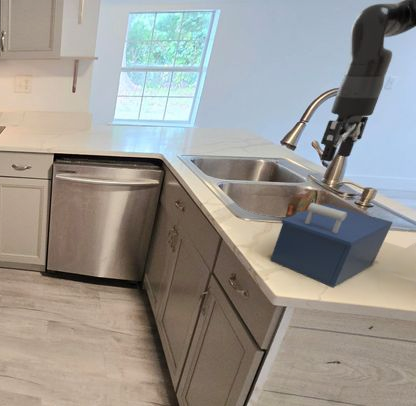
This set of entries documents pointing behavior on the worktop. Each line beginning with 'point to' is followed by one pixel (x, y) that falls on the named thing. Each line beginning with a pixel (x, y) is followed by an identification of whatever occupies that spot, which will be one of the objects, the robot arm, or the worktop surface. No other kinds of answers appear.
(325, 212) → the box lid
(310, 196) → the tin
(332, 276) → the blue box
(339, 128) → the robot arm
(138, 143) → the worktop surface
